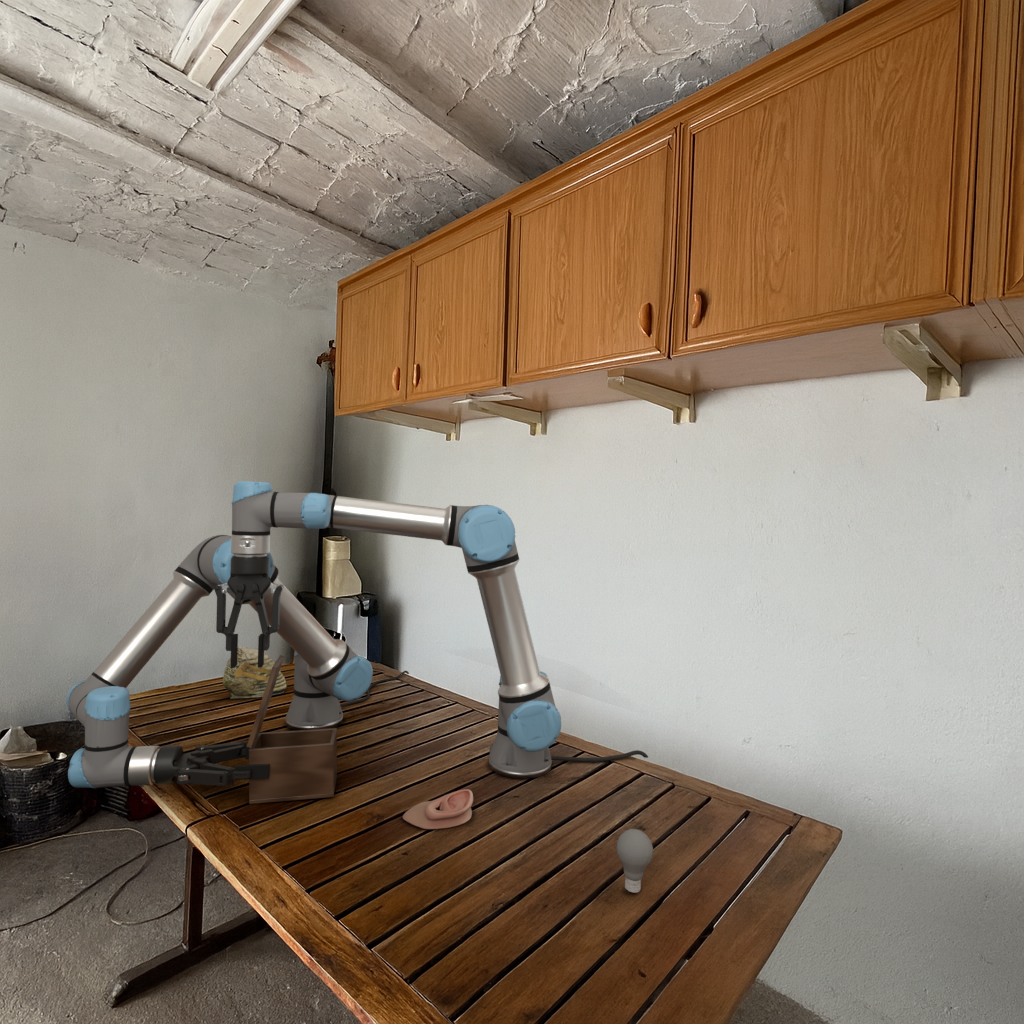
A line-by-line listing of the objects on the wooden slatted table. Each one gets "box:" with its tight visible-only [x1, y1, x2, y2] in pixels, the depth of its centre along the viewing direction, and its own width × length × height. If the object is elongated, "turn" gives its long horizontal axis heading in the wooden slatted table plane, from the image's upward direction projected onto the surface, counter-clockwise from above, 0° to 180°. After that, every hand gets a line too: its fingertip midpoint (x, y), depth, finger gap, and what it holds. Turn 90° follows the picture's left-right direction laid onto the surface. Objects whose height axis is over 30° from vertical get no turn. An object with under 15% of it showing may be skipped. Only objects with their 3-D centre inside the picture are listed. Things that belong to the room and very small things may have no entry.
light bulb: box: [615, 828, 654, 894], centre depth 106 cm, size 6×6×10 cm
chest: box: [248, 727, 338, 805], centre depth 135 cm, size 17×9×11 cm, turn 101°
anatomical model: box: [402, 788, 474, 830], centre depth 128 cm, size 13×4×12 cm
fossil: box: [222, 646, 288, 699], centre depth 198 cm, size 9×18×15 cm, turn 132°
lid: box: [234, 654, 285, 748], centre depth 133 cm, size 17×9×8 cm
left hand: (273, 761), depth 135 cm, fingers closed on chest, 9 cm apart
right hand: (247, 665), depth 133 cm, fingers open, 5 cm apart
